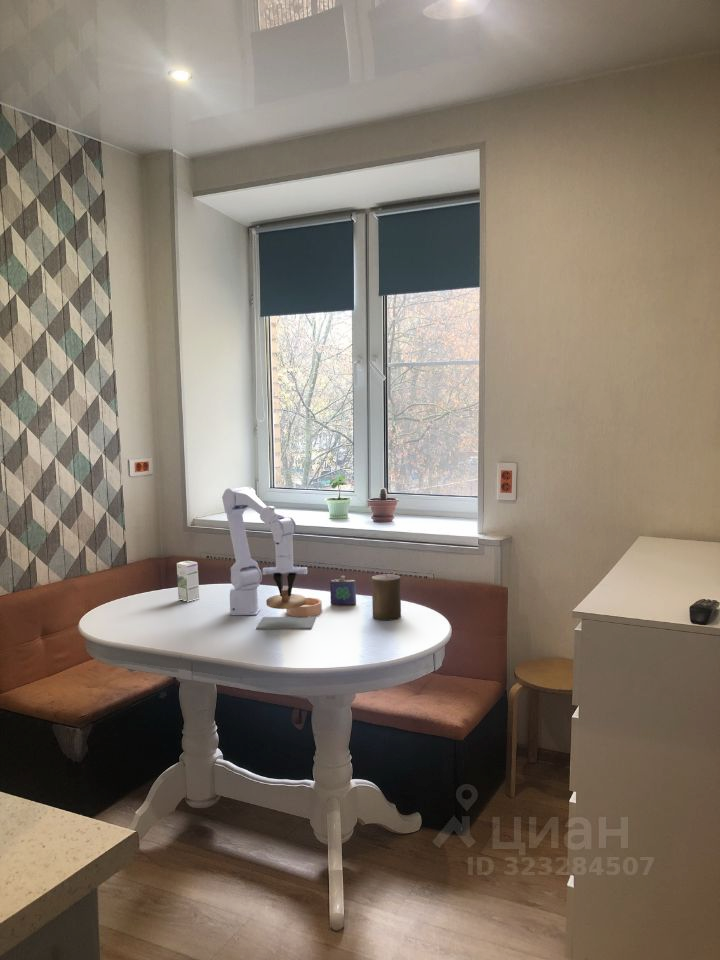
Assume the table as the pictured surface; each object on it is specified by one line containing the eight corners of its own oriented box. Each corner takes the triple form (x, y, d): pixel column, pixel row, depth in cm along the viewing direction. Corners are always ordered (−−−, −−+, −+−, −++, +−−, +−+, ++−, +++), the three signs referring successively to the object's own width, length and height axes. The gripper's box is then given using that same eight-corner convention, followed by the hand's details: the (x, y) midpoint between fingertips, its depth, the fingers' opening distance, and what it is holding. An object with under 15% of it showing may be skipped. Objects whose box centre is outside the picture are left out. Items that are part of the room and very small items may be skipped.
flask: (356, 603, 264) (355, 574, 263) (355, 605, 261) (355, 576, 260) (330, 604, 265) (330, 575, 264) (330, 606, 262) (329, 577, 261)
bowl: (284, 616, 249) (284, 606, 249) (289, 607, 261) (289, 597, 261) (319, 616, 249) (319, 606, 248) (323, 607, 260) (322, 597, 260)
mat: (256, 629, 236) (256, 627, 236) (263, 618, 248) (263, 617, 248) (311, 629, 235) (311, 627, 235) (315, 618, 247) (315, 616, 247)
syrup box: (200, 599, 275) (198, 561, 274) (187, 602, 270) (185, 564, 269) (190, 597, 279) (188, 559, 277) (177, 600, 274) (176, 562, 272)
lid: (263, 609, 235) (262, 594, 234) (270, 596, 248) (269, 582, 247) (303, 608, 234) (302, 593, 233) (308, 596, 247) (307, 582, 246)
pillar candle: (400, 620, 242) (399, 576, 240) (370, 620, 243) (370, 576, 242) (401, 613, 251) (401, 570, 250) (373, 612, 253) (373, 569, 251)
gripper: (260, 557, 235) (261, 598, 237) (304, 557, 234) (306, 598, 236) (264, 553, 242) (265, 593, 244) (307, 552, 241) (308, 592, 243)
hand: (285, 595), depth 240 cm, fingers closed on lid
